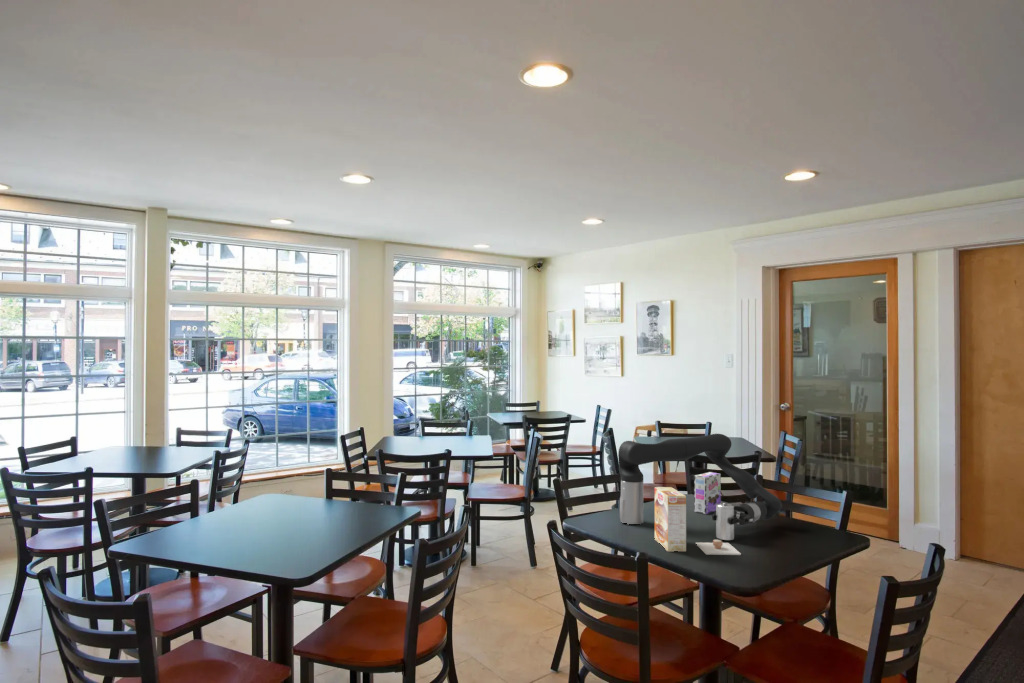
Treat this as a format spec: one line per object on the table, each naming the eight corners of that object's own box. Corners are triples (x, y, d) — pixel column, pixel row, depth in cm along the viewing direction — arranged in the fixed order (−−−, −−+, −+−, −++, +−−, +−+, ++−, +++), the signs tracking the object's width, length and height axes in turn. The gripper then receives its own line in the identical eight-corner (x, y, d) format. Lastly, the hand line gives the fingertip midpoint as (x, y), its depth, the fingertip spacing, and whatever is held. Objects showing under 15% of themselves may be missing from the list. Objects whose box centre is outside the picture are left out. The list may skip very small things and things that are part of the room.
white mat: (706, 554, 203) (706, 553, 203) (695, 543, 215) (695, 542, 215) (740, 555, 203) (740, 553, 203) (728, 544, 215) (728, 542, 215)
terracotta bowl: (714, 549, 207) (714, 541, 207) (711, 546, 210) (711, 539, 211) (723, 549, 207) (723, 542, 207) (720, 546, 210) (720, 539, 210)
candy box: (705, 514, 257) (705, 476, 257) (693, 512, 261) (693, 474, 262) (721, 509, 266) (721, 473, 267) (709, 507, 270) (709, 471, 271)
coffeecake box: (653, 539, 220) (653, 486, 221) (672, 538, 221) (672, 486, 221) (667, 552, 205) (667, 495, 206) (686, 551, 206) (686, 495, 206)
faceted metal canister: (719, 539, 218) (719, 505, 218) (714, 534, 224) (714, 501, 224) (736, 540, 218) (736, 505, 218) (730, 535, 224) (730, 501, 224)
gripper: (729, 499, 235) (704, 505, 225) (763, 507, 224) (739, 513, 214) (729, 518, 235) (704, 525, 225) (763, 527, 224) (739, 534, 214)
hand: (721, 519), depth 219 cm, fingers closed on faceted metal canister, 6 cm apart
